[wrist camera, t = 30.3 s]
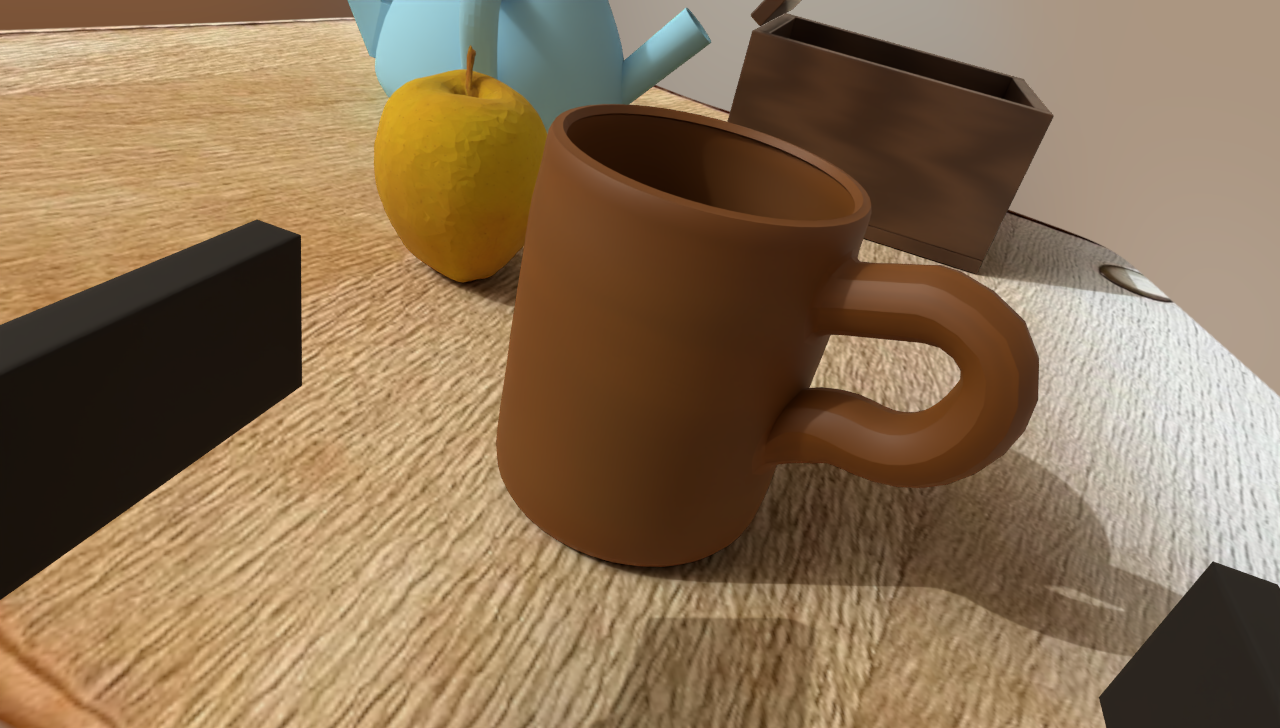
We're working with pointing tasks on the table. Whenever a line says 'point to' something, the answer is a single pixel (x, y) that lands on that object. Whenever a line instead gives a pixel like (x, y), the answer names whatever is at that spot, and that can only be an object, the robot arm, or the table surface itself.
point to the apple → (459, 169)
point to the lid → (772, 10)
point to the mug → (721, 338)
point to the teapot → (524, 47)
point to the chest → (897, 130)
